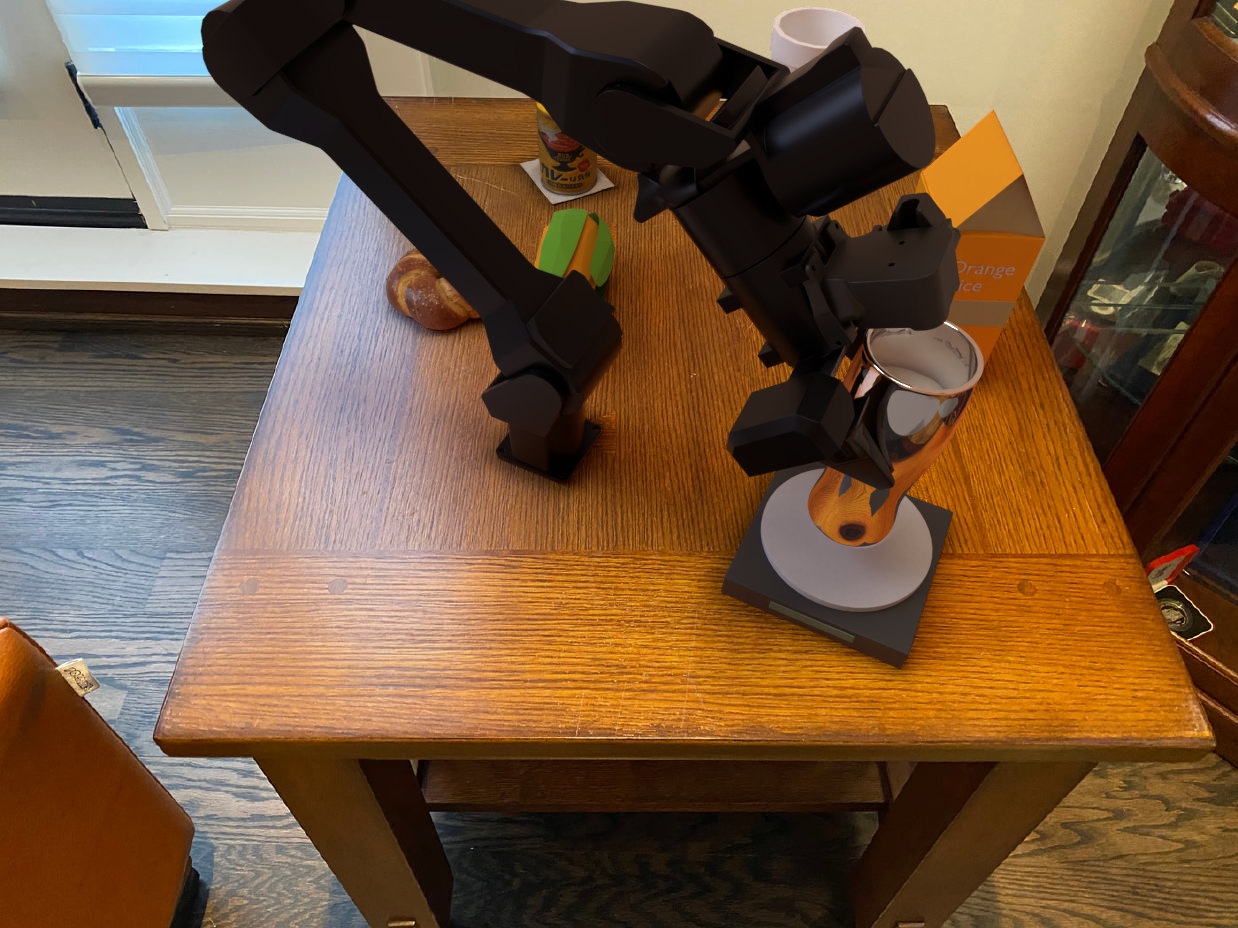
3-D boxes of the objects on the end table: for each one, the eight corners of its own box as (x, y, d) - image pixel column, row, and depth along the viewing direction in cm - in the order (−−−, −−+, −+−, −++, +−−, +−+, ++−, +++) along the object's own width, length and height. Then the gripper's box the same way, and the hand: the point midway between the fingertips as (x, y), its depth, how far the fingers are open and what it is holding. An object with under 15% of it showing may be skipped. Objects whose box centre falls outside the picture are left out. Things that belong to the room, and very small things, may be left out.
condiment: (552, 206, 90) (547, 95, 81) (519, 165, 95) (511, 56, 86) (614, 188, 93) (616, 78, 83) (579, 149, 97) (577, 41, 88)
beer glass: (911, 557, 57) (1003, 399, 45) (806, 553, 57) (872, 393, 45) (891, 474, 61) (970, 311, 50) (793, 470, 61) (850, 305, 49)
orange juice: (891, 375, 75) (967, 170, 60) (875, 308, 81) (941, 104, 65) (981, 378, 75) (1080, 174, 60) (959, 311, 81) (1044, 108, 65)
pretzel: (507, 250, 86) (504, 218, 83) (527, 322, 79) (524, 290, 76) (384, 267, 84) (376, 234, 81) (393, 342, 77) (385, 310, 74)
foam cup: (834, 172, 95) (862, 54, 85) (750, 160, 96) (768, 42, 86) (841, 128, 101) (867, 12, 91) (762, 117, 102) (779, 2, 92)
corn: (620, 185, 79) (584, 331, 67) (624, 253, 85) (592, 400, 73) (541, 182, 80) (491, 326, 68) (550, 250, 86) (506, 394, 74)
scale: (900, 670, 58) (911, 652, 56) (720, 593, 61) (724, 574, 59) (945, 527, 65) (956, 506, 63) (782, 465, 69) (788, 444, 67)
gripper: (833, 294, 36) (1003, 544, 42) (938, 92, 47) (1062, 314, 52) (649, 367, 44) (813, 567, 50) (774, 181, 55) (897, 364, 60)
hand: (902, 446), depth 53 cm, fingers closed on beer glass, 7 cm apart
